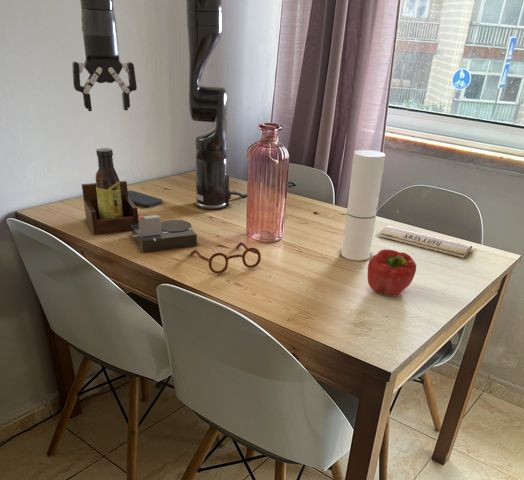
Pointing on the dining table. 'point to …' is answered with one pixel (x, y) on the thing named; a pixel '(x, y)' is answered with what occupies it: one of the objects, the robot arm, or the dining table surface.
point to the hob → (164, 239)
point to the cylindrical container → (362, 204)
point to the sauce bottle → (108, 186)
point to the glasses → (230, 257)
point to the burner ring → (175, 225)
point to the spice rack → (113, 223)
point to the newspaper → (426, 241)
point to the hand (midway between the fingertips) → (108, 110)
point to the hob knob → (149, 225)
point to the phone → (143, 199)
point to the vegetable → (390, 272)
